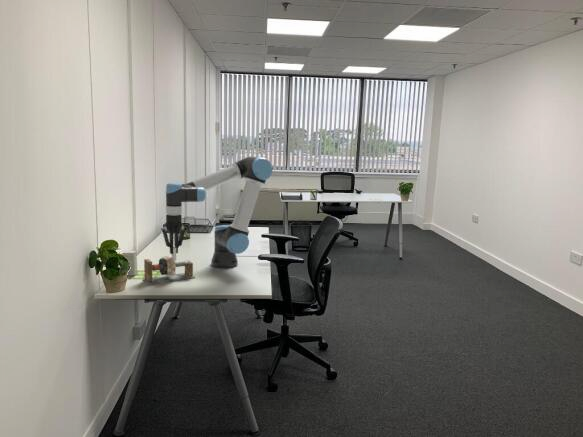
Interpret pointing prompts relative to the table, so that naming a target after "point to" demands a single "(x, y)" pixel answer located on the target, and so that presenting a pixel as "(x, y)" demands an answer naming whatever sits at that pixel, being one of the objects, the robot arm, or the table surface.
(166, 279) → the pipe stand
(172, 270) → the sleeve
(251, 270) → the table surface
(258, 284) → the table surface
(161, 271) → the o-ring
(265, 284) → the table surface
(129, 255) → the skincare box
